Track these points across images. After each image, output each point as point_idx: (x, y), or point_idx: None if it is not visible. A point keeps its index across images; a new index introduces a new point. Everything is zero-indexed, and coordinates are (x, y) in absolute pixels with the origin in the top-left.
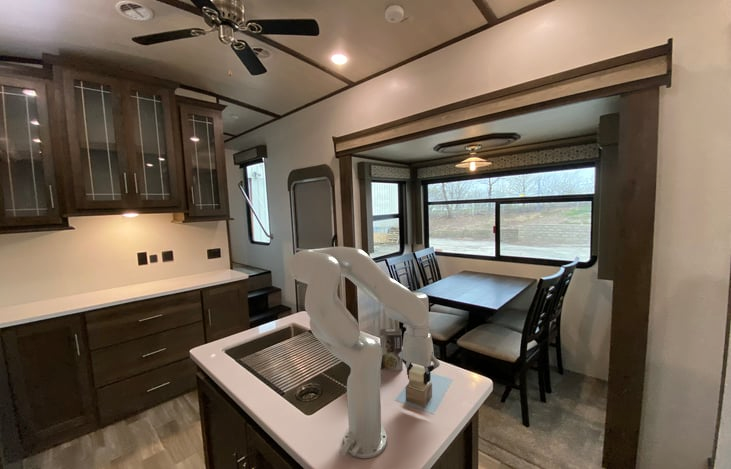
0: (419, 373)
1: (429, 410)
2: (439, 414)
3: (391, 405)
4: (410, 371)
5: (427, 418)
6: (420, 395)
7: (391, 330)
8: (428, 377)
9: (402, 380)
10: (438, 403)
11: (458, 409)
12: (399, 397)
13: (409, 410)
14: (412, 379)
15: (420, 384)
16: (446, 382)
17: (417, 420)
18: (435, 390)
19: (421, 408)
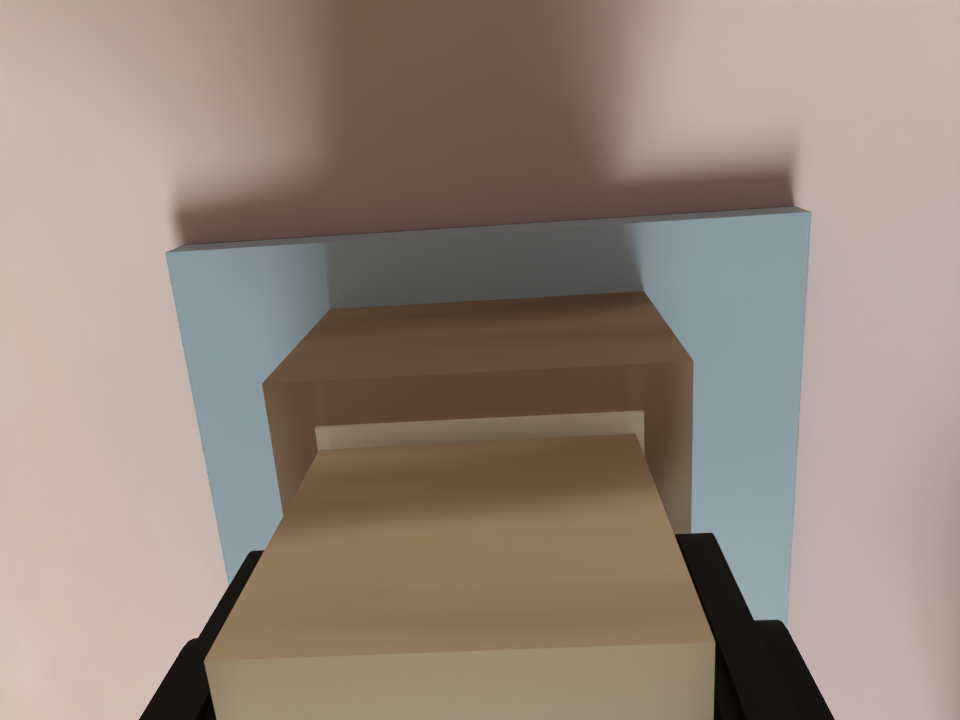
0: (332, 686)
1: (253, 295)
2: (154, 338)
3: (817, 122)
4: (651, 644)
5: (239, 177)
6: (367, 358)
7: None
8: (156, 706)
9: (893, 688)
10: (225, 488)
11: (23, 541)
12: (766, 306)
13: (525, 180)
14: (564, 513)
15: (356, 490)
16: None
17: (331, 56)
18: None
19: (364, 267)
